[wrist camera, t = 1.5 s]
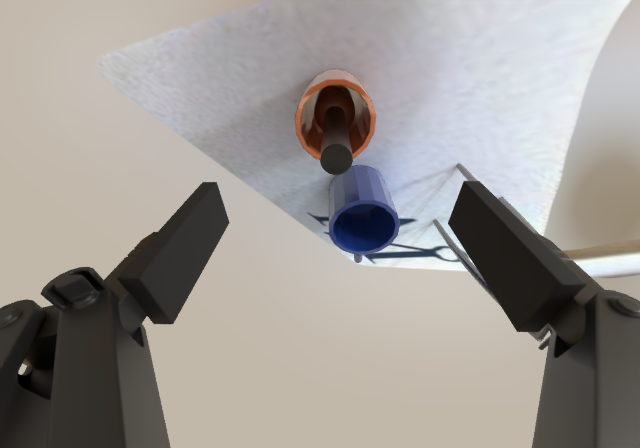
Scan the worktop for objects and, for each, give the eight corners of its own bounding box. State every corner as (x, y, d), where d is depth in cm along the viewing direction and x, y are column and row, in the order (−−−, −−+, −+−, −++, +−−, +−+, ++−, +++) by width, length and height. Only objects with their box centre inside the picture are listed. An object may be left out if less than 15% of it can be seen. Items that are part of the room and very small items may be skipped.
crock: (301, 70, 30) (291, 80, 22) (368, 68, 29) (380, 78, 22) (305, 137, 35) (298, 163, 27) (362, 136, 34) (370, 162, 27)
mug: (329, 165, 37) (328, 199, 29) (389, 165, 37) (406, 200, 29) (329, 229, 45) (328, 270, 37) (379, 230, 44) (389, 271, 37)
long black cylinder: (314, 85, 30) (300, 125, 16) (355, 84, 30) (374, 124, 16) (315, 127, 33) (304, 190, 19) (352, 127, 33) (367, 190, 19)
